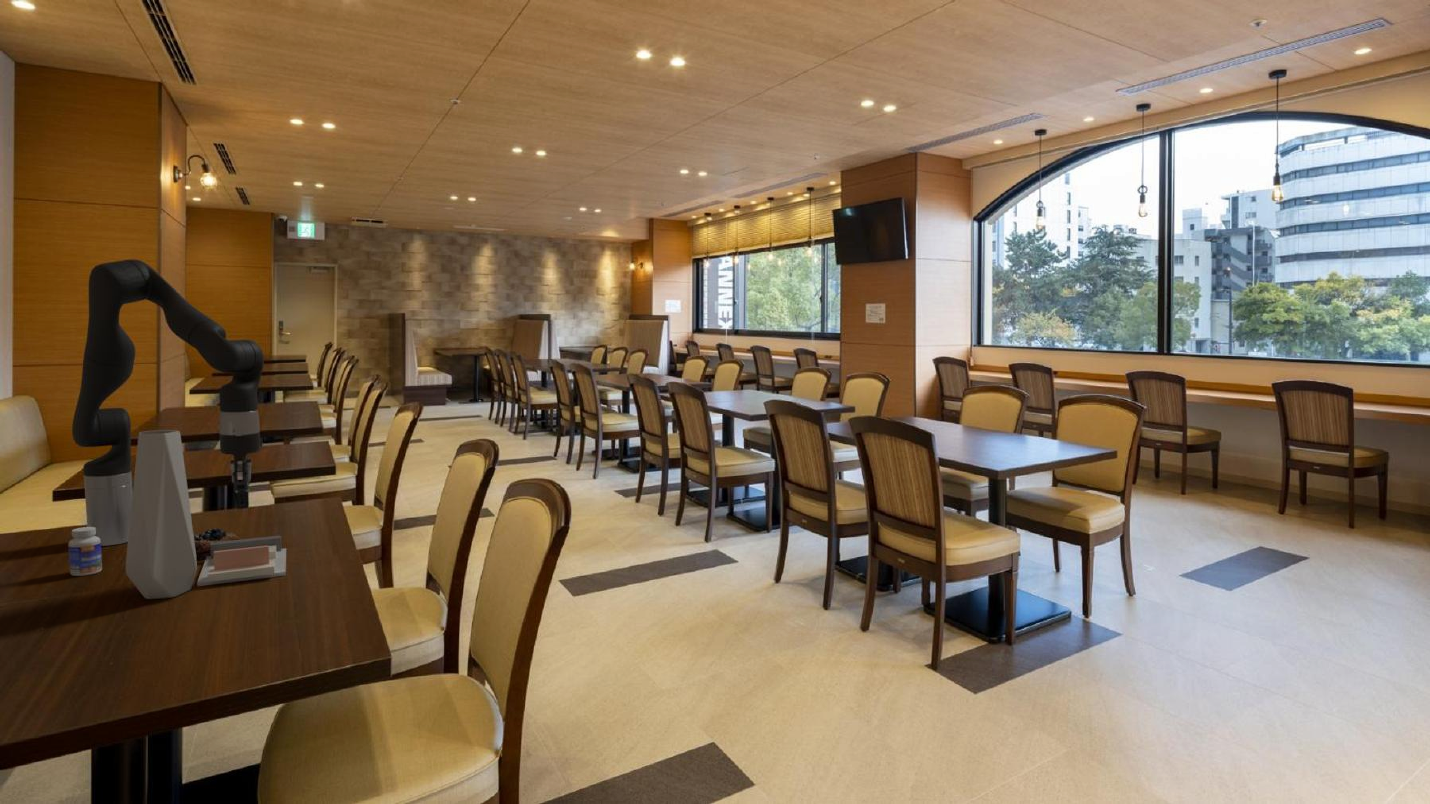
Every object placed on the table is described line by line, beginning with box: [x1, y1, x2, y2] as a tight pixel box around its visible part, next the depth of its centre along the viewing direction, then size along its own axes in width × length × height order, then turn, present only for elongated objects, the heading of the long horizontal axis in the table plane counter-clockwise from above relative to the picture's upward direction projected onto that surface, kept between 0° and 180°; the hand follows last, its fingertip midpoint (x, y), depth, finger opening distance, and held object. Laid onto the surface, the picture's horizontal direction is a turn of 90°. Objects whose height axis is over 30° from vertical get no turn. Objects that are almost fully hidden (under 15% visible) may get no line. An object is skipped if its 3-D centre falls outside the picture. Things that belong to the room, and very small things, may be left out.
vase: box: [125, 429, 198, 600], centre depth 153 cm, size 12×12×33 cm
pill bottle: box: [68, 526, 103, 577], centre depth 166 cm, size 5×5×10 cm
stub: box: [207, 545, 275, 582], centre depth 163 cm, size 5×12×5 cm, turn 119°
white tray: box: [196, 535, 287, 587], centre depth 171 cm, size 20×16×4 cm
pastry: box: [194, 527, 241, 562], centre depth 182 cm, size 11×12×6 cm
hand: (242, 507), depth 170 cm, fingers closed
